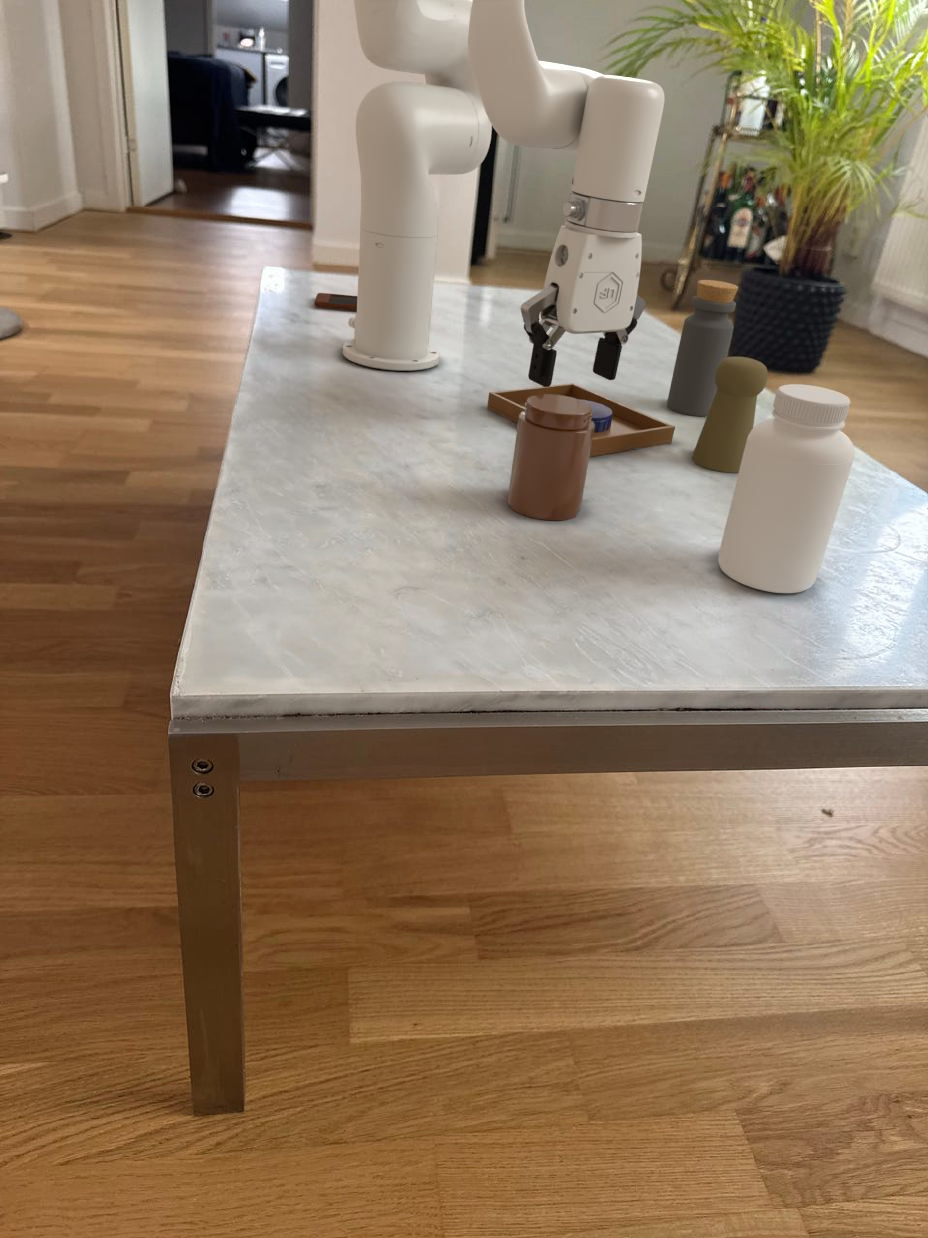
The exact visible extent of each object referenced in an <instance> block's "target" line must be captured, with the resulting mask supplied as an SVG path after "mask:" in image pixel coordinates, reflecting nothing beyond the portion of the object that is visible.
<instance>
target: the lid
mask: <svg viewBox="0 0 928 1238" xmlns="http://www.w3.org/2000/svg"><path fill="white" fill-rule="evenodd" d="M579 400H580V399H579ZM582 401H584V402H586V403H588V404H589V405H590V406H591V407H592V411H593V413H592V419H591V420H592V421H593V422H594V424H595V429H594V433H597V432H603V431H606V430H608V429H609V428H610V427H611V422H612V410H611V409H610V408H608V407H607V406H604V405H602V404H599V403H596V402H592V401H587V400H582Z"/></svg>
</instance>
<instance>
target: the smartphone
mask: <svg viewBox="0 0 928 1238" xmlns="http://www.w3.org/2000/svg"><path fill="white" fill-rule="evenodd" d="M313 304H314V306H315V307H316V308H323V309H335V310H346V311H355V312H357V295H349V294H338V293H327V292H318V293H317V294H316V297H315V300H314V303H313Z"/></svg>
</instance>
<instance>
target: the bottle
mask: <svg viewBox="0 0 928 1238" xmlns="http://www.w3.org/2000/svg"><path fill="white" fill-rule="evenodd" d="M696 284H697V286H696V287H697V288H696V289H697V290H696V291H697V292H696V295H694V296H692V299H691V301H690V302H691V303H690V304H691V306H692V307H694V312H693V314H690V315H688V316H687V317H685V319H684V321H683V325H682V330H681V335H680V338H679V345H678V348H677V353H676V358H675V363H674V367H673V371H672V377H671V382H670V386H669V391H668V396H667V401H666V406H667V407H668V408H669V409H670V410H672V411H674V412H676V413H680V414H683V415H687V416H695V417H707V415H708V412H709V410H710V407H711V404H712V402H713V399H714V396H715V394H716V391H717V389H718V388H717V386H716V383H715V373H716V369H717V367H718V365H719V363H720V362H721V361H722V360H723V359H725V358H728V354H729V350H730V345H731V341H732V337H733V332H734V329H735V328H734V327H735V326H734V324H733V323H732V322H731V321H730V320H729V314H731V313H734V312H735V311H736V306H737V303H736V302H735V301H734V298H735V296H736V294H737V292H738V289H739V286H738V285H736V284H733V283H731V282H727V281H721V280H714V279H700V280H698V281H697V283H696Z"/></svg>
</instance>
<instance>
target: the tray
mask: <svg viewBox="0 0 928 1238" xmlns="http://www.w3.org/2000/svg"><path fill="white" fill-rule="evenodd" d="M541 394H553V395H562V396H568V397H572V398H576V399H580V400H587V401H592V402H596V403H599V404H602V405H604V406H607V407H608V408H610V409H611V410H612V422H611V427H610V428H609V429H608V430H606V431H603V432H597V433H594V435H593V440H592V446H591V452H590V457H589V458H591V457H598V456H605V455H609V454H616V453H621V452H628V451H632V450H638V449H644V448H650V447H655V446H662V445H668V444H672V443H673V439H674V435H675V434H674V433H675V429H676V426H675V425H673V424H670V423H667V422H665V421H663V420H661V419H658V418H656V417H654V416H651V415H649V414H646V413H644V412H642V411H640V410H637V409H635V408H633V407H630V406H628V405H626V404H623V403H621V402H618V401H616V400H614V399H611V398H609V397H606V396H605V395H602V394H600V393H597V392H595V391H592V390H591V389H587V388H585V387H583V386H580V385H578V384H576V383H574V382H571V383H562V384H561V383H560V384H553V385H552V384H551V385H550V386H549V387H543V386H534V387H525V388H515V389H506V390H498V391H490V392H489V391H488V398H487V399H488V400H487V406H486V407H487V408H486V409H487V410H490V411H491V412H494V413H496V414H497V415H499V416H502V417H504V418H506V419H508V420H510V421H512V422H513V423H516V424H518V419H519V414H520V413H521V412H523V411H525V410H526V407H525V402H527V399H528V398H529V397H531V396H534V395H541Z"/></svg>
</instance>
